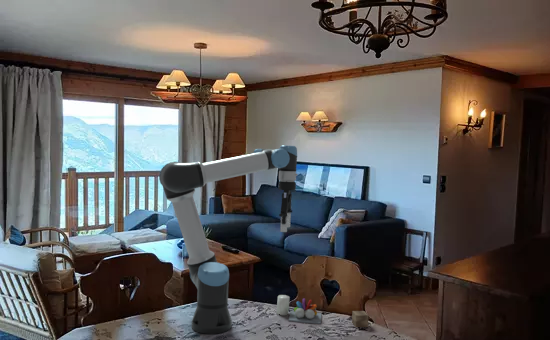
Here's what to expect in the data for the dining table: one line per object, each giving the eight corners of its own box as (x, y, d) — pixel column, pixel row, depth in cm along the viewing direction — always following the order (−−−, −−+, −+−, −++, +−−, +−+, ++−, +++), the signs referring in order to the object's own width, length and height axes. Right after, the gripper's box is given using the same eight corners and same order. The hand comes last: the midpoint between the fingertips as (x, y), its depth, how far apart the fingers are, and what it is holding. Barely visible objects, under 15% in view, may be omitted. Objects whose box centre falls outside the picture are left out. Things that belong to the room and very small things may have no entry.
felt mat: (288, 321, 176) (288, 319, 176) (291, 312, 187) (291, 310, 187) (320, 324, 175) (320, 322, 175) (321, 314, 186) (321, 313, 186)
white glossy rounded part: (277, 315, 183) (278, 298, 182) (275, 310, 188) (277, 294, 187) (289, 315, 183) (290, 299, 183) (287, 311, 188) (288, 295, 188)
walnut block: (355, 327, 173) (356, 315, 172) (351, 323, 178) (352, 311, 177) (367, 327, 173) (368, 315, 173) (363, 323, 178) (364, 311, 178)
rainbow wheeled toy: (316, 321, 176) (316, 303, 176) (292, 318, 178) (293, 300, 178) (317, 313, 185) (318, 296, 185) (294, 311, 186) (295, 294, 186)
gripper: (293, 182, 178) (291, 234, 179) (298, 180, 203) (296, 225, 203) (275, 181, 179) (272, 233, 180) (282, 179, 204) (280, 224, 204)
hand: (285, 229), depth 191 cm, fingers open, 13 cm apart
